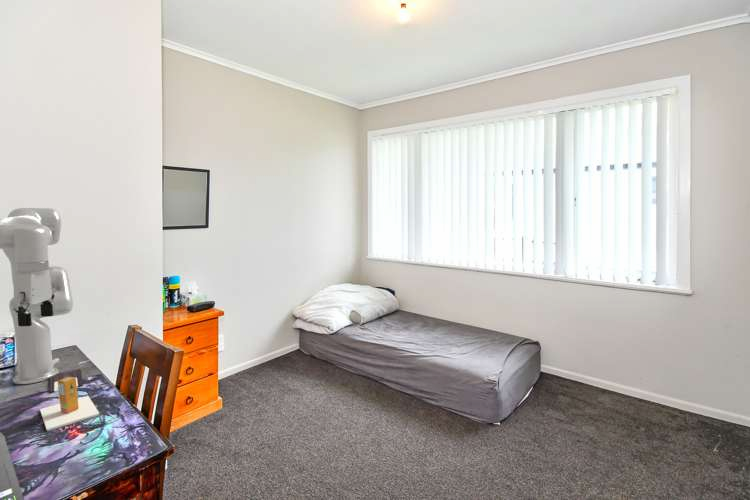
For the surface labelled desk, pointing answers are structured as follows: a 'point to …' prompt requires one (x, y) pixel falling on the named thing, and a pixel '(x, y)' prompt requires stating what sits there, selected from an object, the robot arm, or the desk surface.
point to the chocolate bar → (54, 380)
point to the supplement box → (68, 394)
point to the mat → (59, 419)
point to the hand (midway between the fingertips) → (36, 320)
